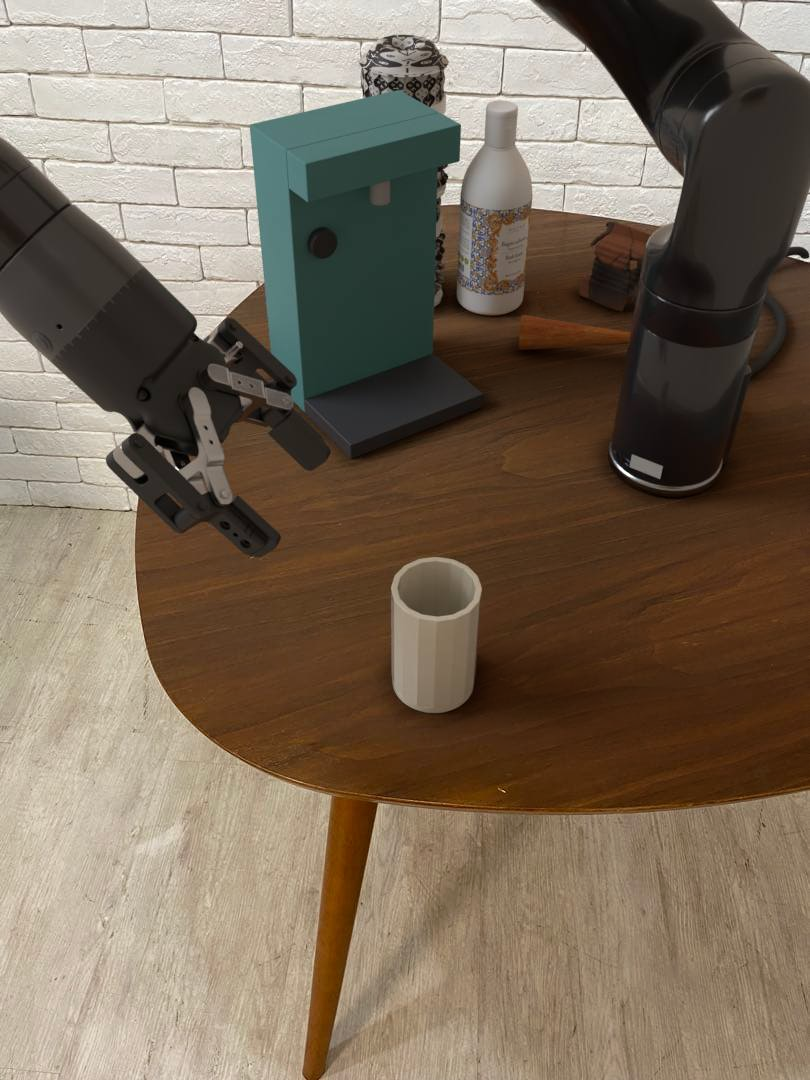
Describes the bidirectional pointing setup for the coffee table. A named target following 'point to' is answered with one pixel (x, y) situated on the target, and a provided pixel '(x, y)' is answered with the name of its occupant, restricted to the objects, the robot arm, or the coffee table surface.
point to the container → (434, 633)
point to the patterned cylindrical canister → (422, 78)
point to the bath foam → (494, 219)
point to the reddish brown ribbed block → (615, 266)
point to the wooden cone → (565, 334)
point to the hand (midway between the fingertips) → (297, 503)
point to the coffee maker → (357, 265)
